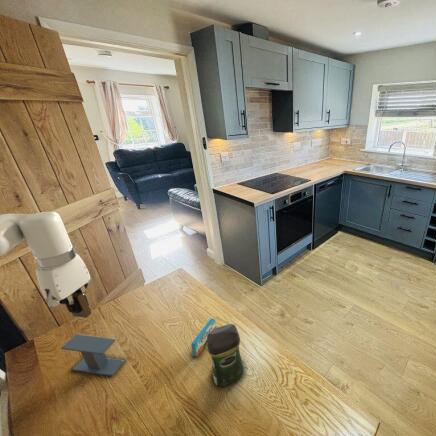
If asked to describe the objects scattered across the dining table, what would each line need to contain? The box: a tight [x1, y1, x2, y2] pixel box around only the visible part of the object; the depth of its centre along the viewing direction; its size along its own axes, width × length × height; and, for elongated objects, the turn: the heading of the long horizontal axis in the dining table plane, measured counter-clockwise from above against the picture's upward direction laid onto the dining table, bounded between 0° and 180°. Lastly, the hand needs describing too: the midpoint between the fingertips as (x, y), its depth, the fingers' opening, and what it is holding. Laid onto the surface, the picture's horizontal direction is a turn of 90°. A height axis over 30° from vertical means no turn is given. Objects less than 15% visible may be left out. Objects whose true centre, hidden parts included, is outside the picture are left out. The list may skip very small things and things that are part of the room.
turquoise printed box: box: [190, 317, 217, 357], centre depth 86 cm, size 12×2×6 cm, turn 164°
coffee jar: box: [206, 323, 245, 388], centre depth 73 cm, size 10×8×19 cm
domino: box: [71, 292, 92, 319], centre depth 71 cm, size 4×2×8 cm, turn 83°
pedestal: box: [60, 333, 125, 377], centre depth 76 cm, size 14×5×11 cm, turn 83°
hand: (79, 308), depth 71 cm, fingers closed on domino, 2 cm apart
